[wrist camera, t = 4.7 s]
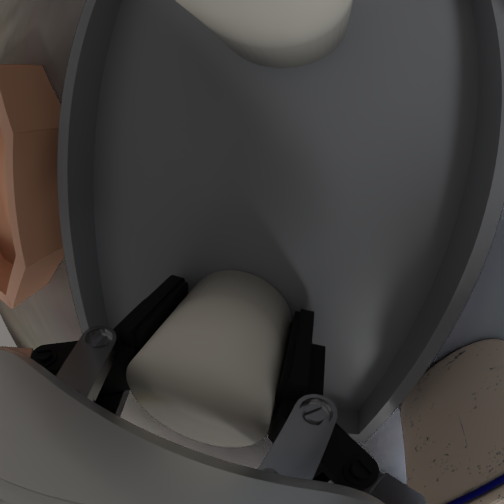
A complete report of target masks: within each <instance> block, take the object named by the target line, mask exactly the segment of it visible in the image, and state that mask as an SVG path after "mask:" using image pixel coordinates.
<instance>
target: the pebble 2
mask: <svg viewBox="0 0 504 504" xmlns="http://www.w3.org/2000/svg"><path fill="white" fill-rule="evenodd" d="M291 324H292V317H291V312H290V309H289V307H288V304H287V302H286V301H285V299H284V298H283V296H282V295H281V294H280V293H279V291H278V290H276V289H275V288H274V287H273V286H272V285H271V284H269V283H268V282H267V281H265V280H263V279H261V278H260V277H257V276H255V275H253V274H250V273H246V272H242V271H234V270H227V271H219V272H215V273H212V274H210V275H208V276H206V277H204V278H203V279H201V280H200V281H199V282H198V283H197V284H196V285H195V286H194V288H193V289H192V290H191V291H190V292H189V293H188V295H187V296H186V297H185V298H184V299H183V300H182V302H181V303H180V304H179V305H178V306H177V307H176V309H175V310H174V311H173V312H172V313H171V314H170V316H169V317H168V318H167V319H166V320H165V321H164V323H163V324H162V325H161V326H160V327H159V328H158V330H157V331H156V332H155V333H154V334H153V336H152V337H151V338H150V339H149V340H148V342H147V343H146V344H145V345H144V346H143V347H142V349H141V350H140V351H139V352H138V353H137V355H136V356H135V357H134V358H133V359H132V361H131V362H130V363H129V365H128V367H127V371H126V378H127V383H128V385H129V388H130V390H131V392H132V394H133V395H134V397H135V398H136V400H137V401H138V402H139V403H140V405H141V406H142V407H143V408H144V409H145V410H146V411H147V412H148V413H149V414H150V415H151V416H153V417H154V418H155V419H156V420H157V421H159V422H160V423H162V424H163V425H165V426H166V427H168V428H169V429H171V430H173V431H175V432H176V433H178V434H180V435H183V436H185V437H187V438H190V439H192V440H195V441H198V442H201V443H204V444H208V445H213V446H219V447H231V448H233V447H245V446H249V445H253V444H255V443H257V442H259V441H261V440H262V439H263V438H264V437H265V436H266V434H267V433H268V430H269V426H270V422H271V418H272V414H273V410H274V406H275V397H276V392H277V388H278V384H279V380H280V375H281V371H282V366H283V362H284V357H285V353H286V348H287V343H288V338H289V334H290V329H291Z"/></svg>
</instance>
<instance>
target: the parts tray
mask: <svg viewBox="0 0 504 504" xmlns="http://www.w3.org/2000/svg"><path fill="white" fill-rule="evenodd" d="M57 179H58V202H59V215H60V226H61V235H62V242H63V249H64V256H65V262H66V268H67V273H68V278H69V283H70V288H71V292H72V297H73V301H74V305H75V309H76V313H77V316H78V320H79V324H80V327H81V330H82V334H83V333H84V332H85V331H86V330H87V329H89V328H91V327H94V326H99V325H102V326H107V327H110V328H111V329H114V328H115V327H116V326H117V325H118V324H119V323H120V322H121V321H122V320H123V319H124V318H125V317H126V316H127V315H128V314H129V313H130V312H131V311H132V310H133V309H134V308H135V307H136V306H137V305H139V304H140V303H141V302H142V301H143V300H144V299H145V298H147V297H148V296H149V295H150V294H151V293H152V292H153V291H155V290H156V289H157V288H158V287H159V286H160V285H161V284H162V283H163V282H164V281H165V280H166V279H167V278H168V277H170V276H171V275H175V276H179V277H182V278H184V279H185V282H187V283H188V293H189V292H190V291H191V290H192V289H193V288H194V286H195V285H196V284H197V283H198V282H199V281H200V280H201V279H203V278H204V277H206V276H208V275H210V274H212V273H215V272H219V271H227V270H234V271H242V272H246V273H250V274H253V275H255V276H257V277H260V278H261V279H263V280H265V281H267V282H268V283H269V284H271V285H272V286H273V287H274V288H275V289H276V290H278V291H279V293H280V294H281V295H282V296H283V298H284V299H285V301H286V302H287V304H288V307H289V309H290V312H291V317H292V321H293V317H294V314H295V311H299V312H300V311H301V309H306V310H310V311H314V325H313V336H312V343H313V344H317V345H322V346H325V373H324V389H323V396H324V397H326V398H328V399H330V400H331V401H332V402H333V403H334V404H335V406H336V408H337V412H338V416H337V420H336V423H337V424H338V425H339V426H340V427H341V428H342V429H343V430H344V431H345V432H346V433H347V434H348V435H349V436H350V437H351V438H352V439H353V440H354V441H363V442H366V441H367V440H368V439H369V438H370V437H371V436H372V435H373V434H374V433H375V432H376V430H377V429H378V428H379V427H380V426H381V425H382V424H383V423H384V422H385V421H386V420H387V419H388V418H389V416H390V415H391V414H392V413H393V412H394V411H395V410H396V408H397V407H398V406H399V405H400V404H401V403H402V401H403V400H404V399H405V398H406V396H407V395H408V394H409V393H410V391H411V390H412V389H413V388H414V386H415V385H416V384H417V382H418V381H419V380H420V378H421V377H422V375H423V374H424V373H425V371H426V370H427V368H428V367H429V366H430V364H431V363H432V361H433V360H434V358H435V357H436V355H437V354H438V352H439V351H440V349H441V347H442V346H443V344H444V343H445V341H446V339H447V338H448V336H449V334H450V333H451V331H452V329H453V327H454V326H455V324H456V322H457V320H458V319H459V317H460V315H461V313H462V311H463V309H464V307H465V305H466V303H467V301H468V299H469V297H470V295H471V293H472V291H473V289H474V287H475V284H476V282H477V280H478V278H479V275H480V273H481V270H482V268H483V266H484V263H485V261H486V258H487V255H488V253H489V250H490V247H491V244H492V241H493V238H494V235H495V232H496V229H497V226H498V223H499V219H500V216H501V212H502V208H503V205H504V1H503V0H353V3H352V7H351V12H350V17H349V21H348V26H347V30H346V33H345V36H344V38H343V40H342V41H341V43H340V44H339V45H338V47H337V48H336V49H335V50H334V51H333V52H331V53H330V54H329V55H327V56H326V57H324V58H322V59H320V60H318V61H316V62H314V63H311V64H308V65H304V66H300V67H293V68H272V67H265V66H261V65H257V64H254V63H252V62H249V61H247V60H245V59H243V58H241V57H240V56H239V55H237V54H236V53H235V52H233V51H232V50H231V49H230V48H229V47H228V46H227V45H226V44H225V43H224V42H223V41H222V40H221V39H220V38H219V37H217V36H216V35H215V34H214V33H213V32H212V31H211V30H210V29H209V28H208V27H206V26H205V25H204V24H203V23H202V22H201V21H200V20H198V19H197V18H196V17H195V16H194V15H192V14H191V13H190V12H189V11H188V10H186V9H185V8H184V7H183V6H181V5H180V4H179V3H178V2H176V1H175V0H86V2H85V5H84V8H83V11H82V13H81V16H80V20H79V23H78V26H77V29H76V33H75V36H74V40H73V44H72V48H71V52H70V56H69V61H68V65H67V70H66V76H65V81H64V87H63V94H62V101H61V110H60V120H59V132H58V155H57Z"/></svg>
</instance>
